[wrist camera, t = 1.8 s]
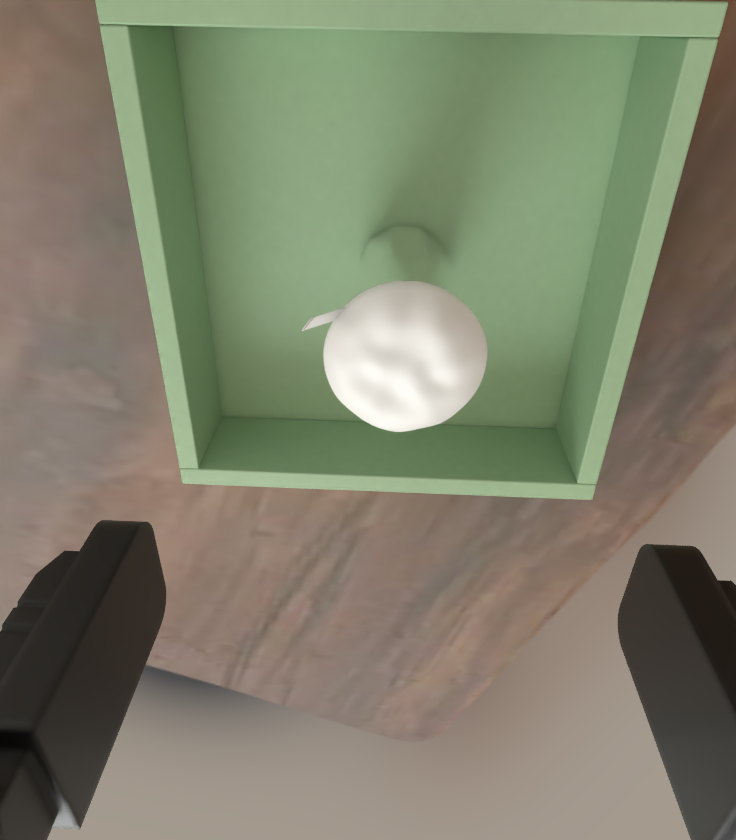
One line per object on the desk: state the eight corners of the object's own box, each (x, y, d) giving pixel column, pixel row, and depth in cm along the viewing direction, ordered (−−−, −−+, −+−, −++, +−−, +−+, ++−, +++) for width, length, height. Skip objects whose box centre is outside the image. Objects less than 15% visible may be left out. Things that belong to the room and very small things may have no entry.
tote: (150, -5, 20) (91, -12, 16) (665, 5, 20) (730, 1, 16) (210, 422, 29) (182, 484, 25) (566, 436, 29) (592, 500, 25)
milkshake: (378, 163, 22) (367, 250, 14) (486, 258, 24) (534, 387, 15) (304, 259, 24) (254, 386, 16) (408, 340, 26) (413, 494, 17)
